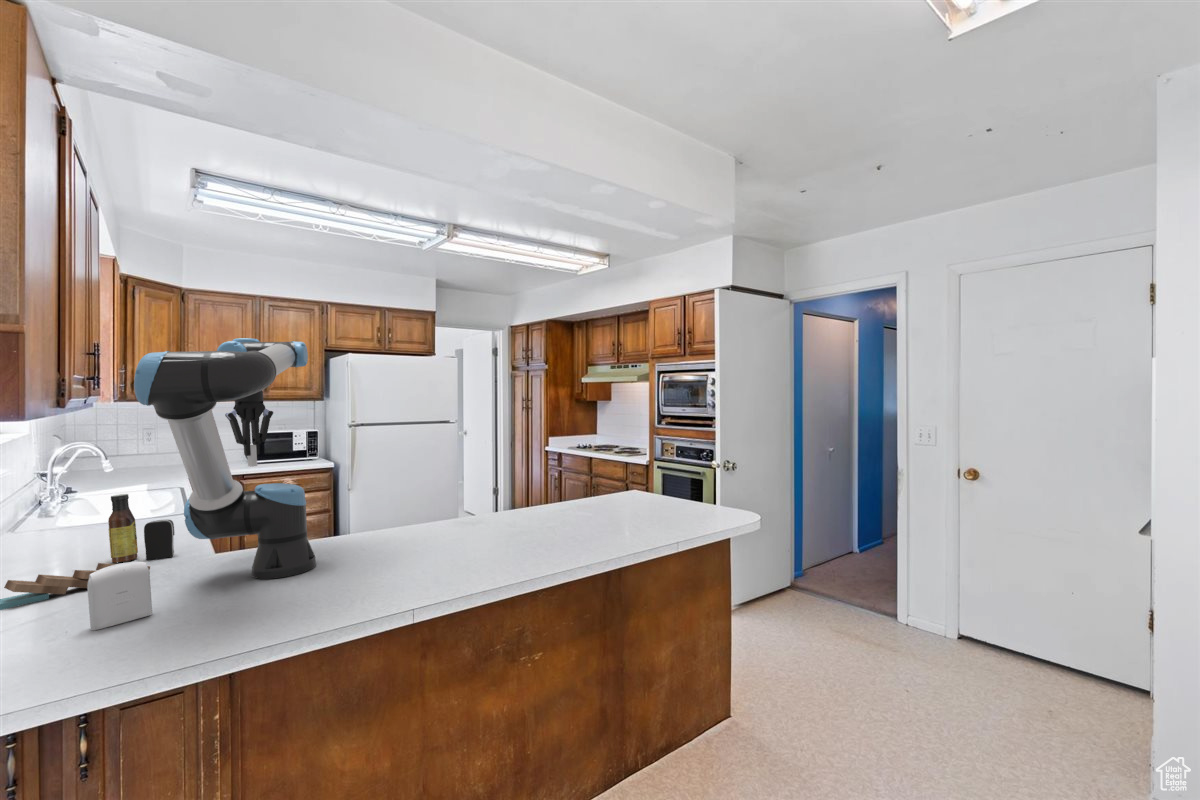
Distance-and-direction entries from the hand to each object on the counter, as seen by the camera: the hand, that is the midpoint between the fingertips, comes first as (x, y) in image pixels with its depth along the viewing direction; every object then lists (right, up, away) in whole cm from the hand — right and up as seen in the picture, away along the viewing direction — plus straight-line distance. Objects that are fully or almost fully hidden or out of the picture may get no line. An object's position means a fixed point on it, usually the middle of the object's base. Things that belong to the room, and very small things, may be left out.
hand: (252, 466), depth 172 cm
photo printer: (+4, -27, -52) cm, 59 cm away
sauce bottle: (-36, -28, -4) cm, 46 cm away
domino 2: (-30, -28, -34) cm, 53 cm away
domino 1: (-28, -27, -32) cm, 50 cm away
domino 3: (-25, -27, -27) cm, 46 cm away
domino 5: (-20, -27, -16) cm, 37 cm away
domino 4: (-22, -27, -21) cm, 41 cm away
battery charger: (-26, -28, -2) cm, 38 cm away
